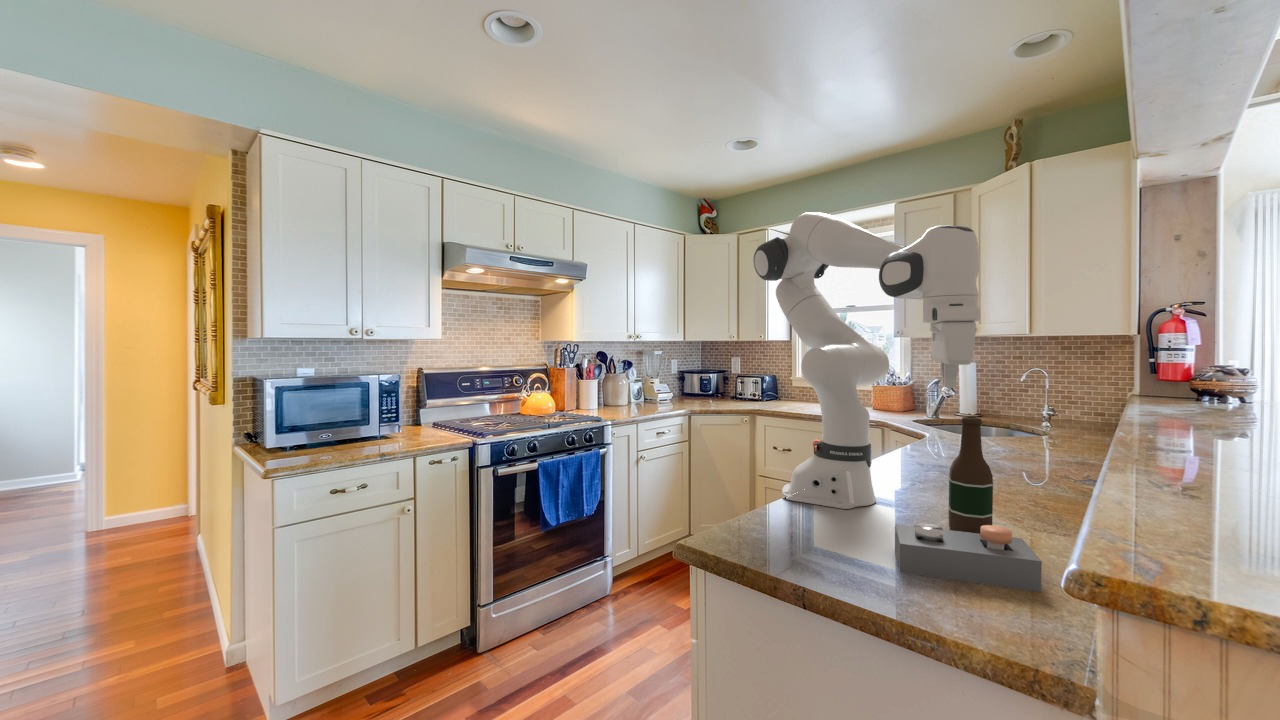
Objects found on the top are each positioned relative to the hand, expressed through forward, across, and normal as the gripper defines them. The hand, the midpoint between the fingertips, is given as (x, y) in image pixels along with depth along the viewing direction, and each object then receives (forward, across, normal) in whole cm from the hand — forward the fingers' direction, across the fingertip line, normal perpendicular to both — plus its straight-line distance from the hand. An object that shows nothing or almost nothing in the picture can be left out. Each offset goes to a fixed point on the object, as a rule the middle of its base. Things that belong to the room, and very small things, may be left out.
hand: (948, 387), depth 96 cm
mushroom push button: (+30, +8, +6) cm, 31 cm away
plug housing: (+31, +8, +1) cm, 32 cm away
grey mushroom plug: (+30, +8, -4) cm, 32 cm away
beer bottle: (+31, -12, +6) cm, 34 cm away
